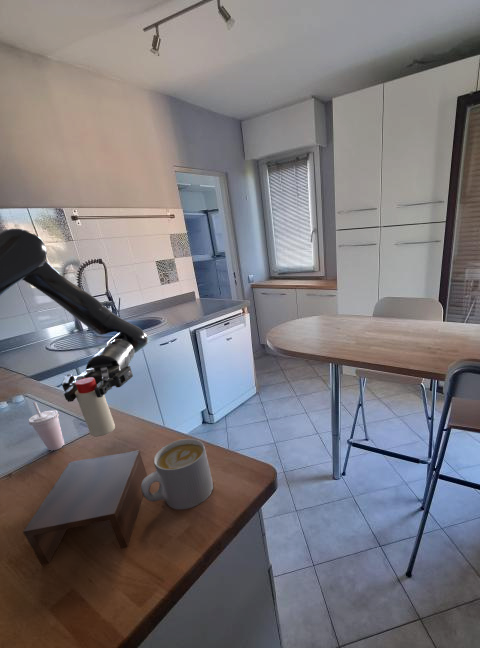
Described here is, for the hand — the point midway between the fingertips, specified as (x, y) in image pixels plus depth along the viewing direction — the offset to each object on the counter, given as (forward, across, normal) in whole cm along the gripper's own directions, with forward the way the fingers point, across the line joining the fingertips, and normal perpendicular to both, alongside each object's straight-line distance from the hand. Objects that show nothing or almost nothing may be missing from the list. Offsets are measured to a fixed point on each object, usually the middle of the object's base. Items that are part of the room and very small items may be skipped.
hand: (83, 395), depth 66 cm
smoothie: (-21, -21, +23) cm, 37 cm away
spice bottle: (-3, 0, +10) cm, 10 cm away
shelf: (+9, 0, +23) cm, 25 cm away
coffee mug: (+8, +15, +23) cm, 28 cm away
